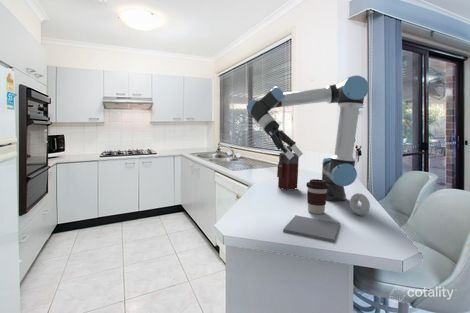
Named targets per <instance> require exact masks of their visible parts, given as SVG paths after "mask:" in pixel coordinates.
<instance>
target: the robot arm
mask: <svg viewBox="0 0 470 313" xmlns="http://www.w3.org/2000/svg"><path fill="white" fill-rule="evenodd" d="M369 90H370V85H369V82H368V80H367V79H366V78H365V77H364V76H361V75H351V76H348V77H347V78H345V79H344V80H342V81H341V82H338V83H336V84H332V85H331V84H329V85H327V86H326V87H324V88H323V87H322V88H313V89H306V90H305V89H304V90H298V91H296V90H295V91H289V92H284V91H283V90H282V89H281V88H280V87H279V86H274V87H273V88H272V89H270V90H269V92H267V93H266V94H265V95H264V96H262V97H261V99H259V100H258V99H256V98H255V99H254V98H253V99H252V100H250V101H249V102H248V103H247V105H246V111H247V112H248V113H249V115H250V116H251V117H252V118H253V119H254V121H255V122H257V124H258V125H259V128H261V129H263V131H264V132H265V134H267V136H269V137H270V139H271V141H272V143H273V144H274V145H275V148H277V150H278V151H279V150H281V153H284V154H285V155H286V156H287V158H288V159H289V160H290V159H291V158H292V157H293V156H294V155H293V154H292V153H296V155H297V156H298V157H299V158H301V157H302V155H303V154H304V152H302V150H300V148H299V147H298V145H296V141H294V140H293V139H292V138H290V136H288V135H287V134H286V133H285V132H284V131H283V130H279V128H280V124H279V123H278V122H277V120H275V118H274V117H273V116H272V115H271V113H269V112H270V111H271V110H272V109H275V108H276V109H277V108H285V107H293V106H301V105H310V104H311V105H312V104H319V103H328V104H337V106H338V107H339V108H340V110H339V117H338V118H339V119H338V124H337V133H336V138H335V139H336V140H335V148H334V154H333V155H332V156H331V157H324V158H323V159H322V168H321V170H322V171H321V180H324V181H325V182H326V184H328V185H329V188H328V189H327V199H326V201H331V202H332V201H333V202H342V201H345V200H347V194H346V190H345V187H348V186H350V185H352V184H353V183H355V181H356V179H357V178H358V177H357V176H358V172H357V168H356V167H355V166H356V159H355V158H354V151H355V150H354V148H355V142H356V134H357V128H358V127H357V126H358V119H359V113H360V109H361V107H363V106H364V102H365V97H366V96H367V95H368V93H369ZM284 143H285V144H286V145H287V146H290V147H291V149H292V152H290V150H289V149H288V148H287V146H286V145H285V144H284Z"/></svg>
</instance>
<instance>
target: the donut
mask: <svg viewBox="0 0 470 313" xmlns="http://www.w3.org/2000/svg"><path fill="white" fill-rule="evenodd" d="M359 202H360V204H361V205H360V206H361V207H359V205H358V204H359ZM349 206H350V209H351V211H352V212H353V213H354V214H355V215H357V216H362V217H363V216H365V215H367V214H368V213H369V211H370V208H371V203H370V200H369V199H368V197H367V196H366V195H364V194H362V193H354V194H353V195H352V196H351V197H350V200H349Z"/></svg>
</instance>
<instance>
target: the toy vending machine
mask: <svg viewBox="0 0 470 313" xmlns="http://www.w3.org/2000/svg"><path fill="white" fill-rule="evenodd" d="M286 147H287V148H288V149H289V150H290V152H291V153H292V154H293V155H294V156H293V157H292V158H291V159H290V160H289V159H288V158H287V156H286V155H285V154H284V153H283V152H280V153H278V154H279V156H278V157H279V158H278V159H279V160H278V162H277V172H276V173H277V176H276V178H278V184H277V185H278V186H277V188H278V187H280V188H279V189H281V188H283V189H282V190H285V189H286V190H285V191H290V190H289V189H293V190H296V189H295V188H297V189H298V181H299V180H298V177H299V158H300V157H298V156H297V155H296V153H295V152H293V150H292V149H291V147H290V146H289V145H287V146H286Z"/></svg>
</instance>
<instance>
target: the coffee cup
mask: <svg viewBox="0 0 470 313" xmlns="http://www.w3.org/2000/svg"><path fill="white" fill-rule="evenodd" d="M305 186H306V187H307V190H306V196H307V211H308V212H309V213H310V214H314V215H323V214H324V213H325V208H326V204H327V200H326V199H327V189H328V188H329V185H328V184H326V182H325V181H324V180H322V179H319V178H317V179H316V178H315V179H314V178H313V179H309V181H308V182H306V185H305Z"/></svg>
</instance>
